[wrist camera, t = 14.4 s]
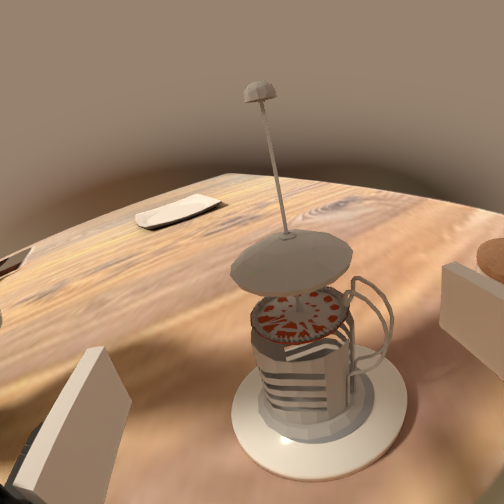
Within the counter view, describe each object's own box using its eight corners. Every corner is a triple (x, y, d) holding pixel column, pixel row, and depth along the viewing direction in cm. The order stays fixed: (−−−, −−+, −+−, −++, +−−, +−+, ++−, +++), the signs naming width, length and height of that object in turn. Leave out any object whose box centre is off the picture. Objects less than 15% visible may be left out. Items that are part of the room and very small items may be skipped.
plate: (144, 237, 91) (141, 229, 90) (133, 221, 115) (131, 215, 114) (228, 208, 101) (227, 200, 100) (200, 198, 126) (199, 192, 125)
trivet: (207, 402, 29) (202, 392, 29) (326, 332, 36) (325, 321, 35) (303, 517, 16) (301, 512, 15) (437, 397, 23) (441, 385, 22)
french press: (288, 350, 32) (237, 96, 23) (396, 371, 26) (385, 69, 16) (236, 418, 25) (137, 108, 15) (362, 458, 18) (343, 43, 9)
